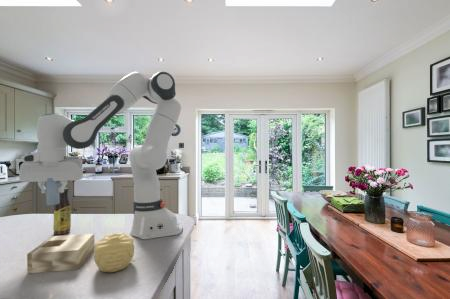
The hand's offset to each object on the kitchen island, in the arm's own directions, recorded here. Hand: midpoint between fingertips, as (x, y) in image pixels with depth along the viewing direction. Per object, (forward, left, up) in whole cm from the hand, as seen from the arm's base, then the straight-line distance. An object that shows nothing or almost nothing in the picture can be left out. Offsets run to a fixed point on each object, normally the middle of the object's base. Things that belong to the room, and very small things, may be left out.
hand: (53, 192), depth 88 cm
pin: (0, 0, -4) cm, 4 cm away
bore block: (-9, +12, -21) cm, 25 cm away
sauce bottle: (+4, -16, -21) cm, 27 cm away
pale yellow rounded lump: (-27, +20, -21) cm, 39 cm away
